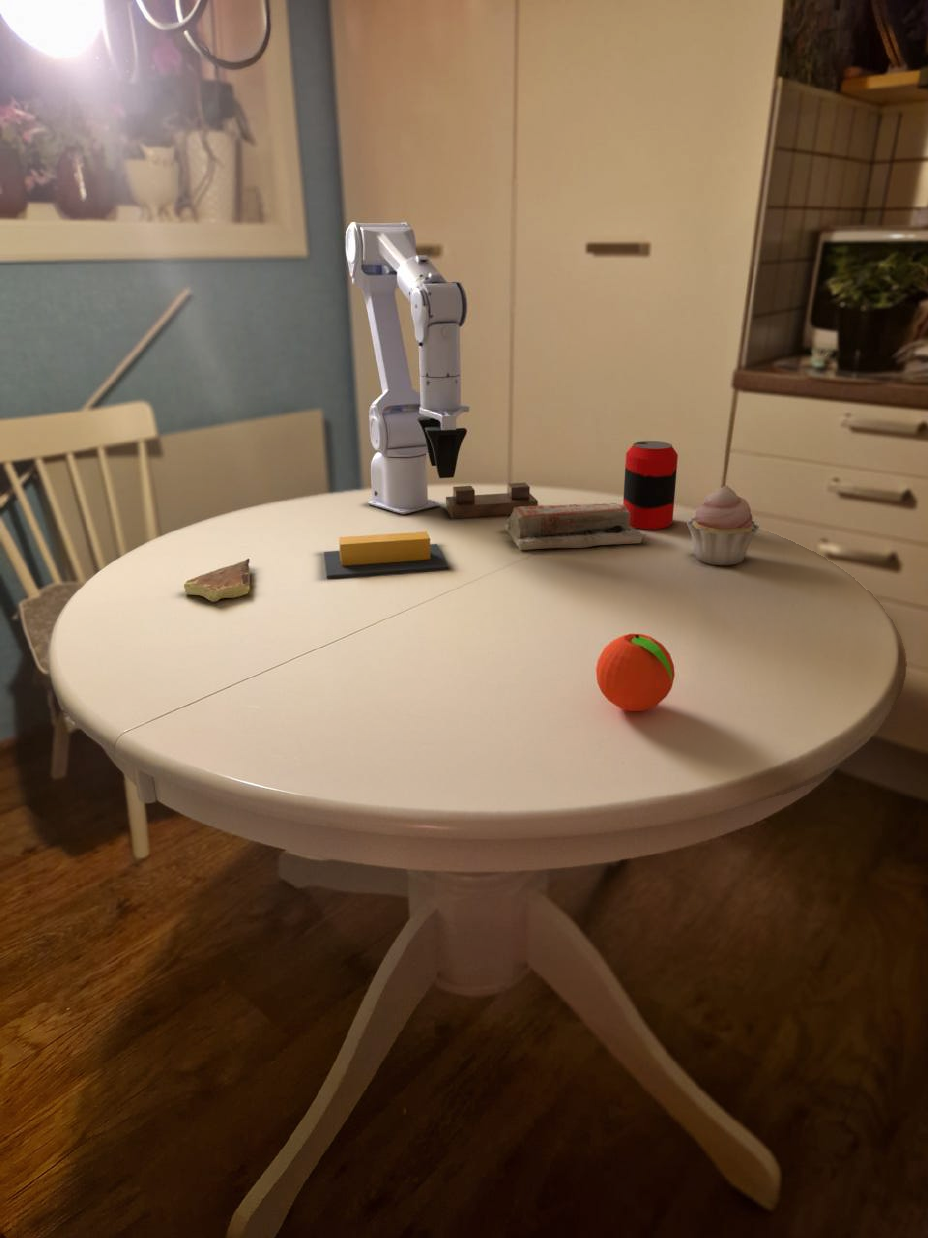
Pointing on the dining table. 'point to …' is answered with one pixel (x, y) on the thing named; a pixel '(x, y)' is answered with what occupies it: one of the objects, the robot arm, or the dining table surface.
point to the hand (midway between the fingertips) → (442, 471)
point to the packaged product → (571, 526)
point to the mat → (383, 565)
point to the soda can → (650, 484)
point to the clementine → (635, 672)
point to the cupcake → (722, 528)
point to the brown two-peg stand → (488, 501)
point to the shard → (221, 582)
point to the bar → (384, 548)
